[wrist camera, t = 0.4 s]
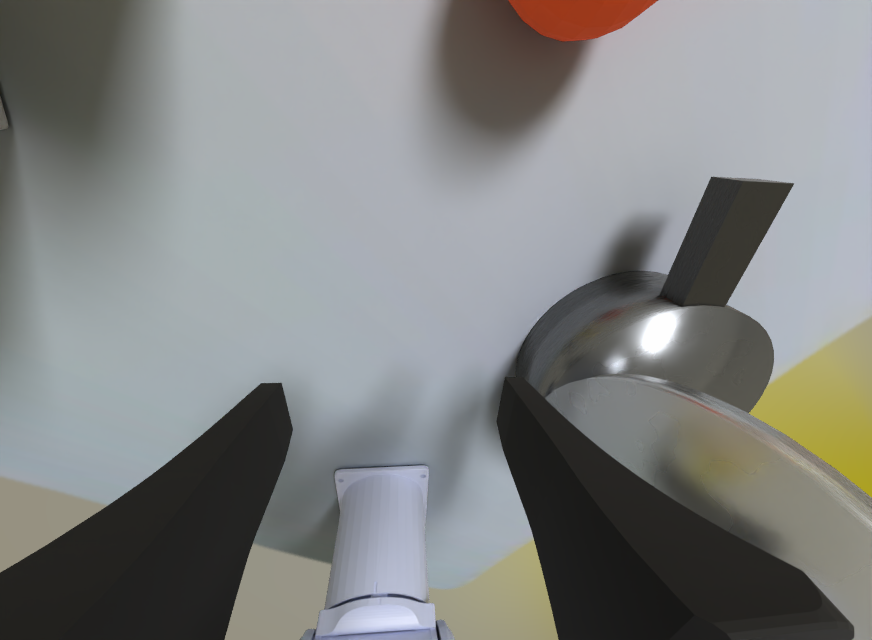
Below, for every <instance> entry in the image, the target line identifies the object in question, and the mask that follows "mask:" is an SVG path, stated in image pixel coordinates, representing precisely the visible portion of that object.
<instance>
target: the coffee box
mask: <svg viewBox="0 0 872 640" xmlns="http://www.w3.org/2000/svg"><path fill="white" fill-rule="evenodd" d="M7 128H8V121H7V118H6V114H5V111H4V108H3V104H2V101H1V97H0V130H3V129H7Z"/></svg>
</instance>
